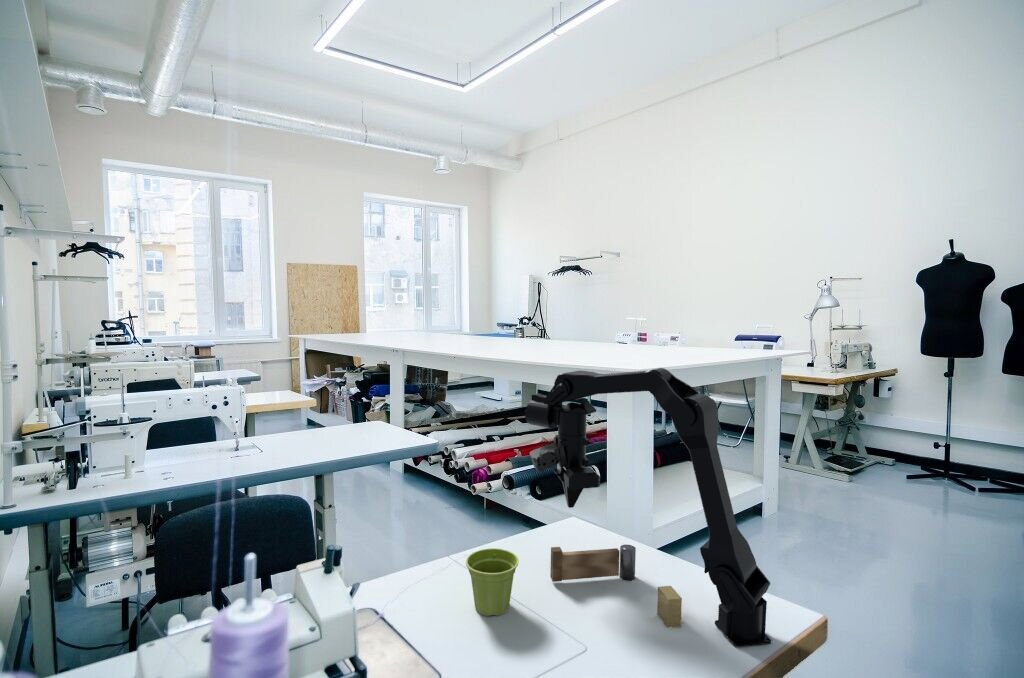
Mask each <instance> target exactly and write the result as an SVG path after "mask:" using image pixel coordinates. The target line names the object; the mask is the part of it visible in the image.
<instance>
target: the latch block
mask: <svg viewBox="0 0 1024 678" xmlns="http://www.w3.org/2000/svg"><path fill="white" fill-rule="evenodd" d="M682 601H683V599H682V597H681V596H680V594H679V593H677V591H676V590H675V589H674V587H673V586H672V585H664V586H663V585H662V586H661V585H660V586H657V603H656V607H657V608H656V615H657V616H658V617H659V619H660V620H661V622H662V623H663V625H664V626H665V627H666V628H667V629H672V628H680V627H681V626H682V625H681V624H682V603H683V602H682Z"/></svg>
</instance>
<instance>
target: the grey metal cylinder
mask: <svg viewBox="0 0 1024 678" xmlns="http://www.w3.org/2000/svg"><path fill="white" fill-rule="evenodd" d="M619 547H620V548H619V579H621V580H622V581H624V580H625V581H626V582H631V581H632V580H633V581H634V580H635V579H636V558H637V557H636V556H637V555H636V550H637V548H636V547H635V546H634V545H631V544H622V545H620V546H619ZM633 581H632V582H633Z"/></svg>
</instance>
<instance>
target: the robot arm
mask: <svg viewBox="0 0 1024 678" xmlns="http://www.w3.org/2000/svg"><path fill="white" fill-rule="evenodd" d="M636 392H637V393H639V392H649V393H650V394H651V395H652V396H653V397H654V398H655V400H656V402H657V403H658V405H659V407H660V408H661V409H662V410H663V411H664V412H665V413H666V414H667V415H669V417H670V419H671V421H672V424H673V425H674V429H675V431H676V433H677V435H678V437H679V439H680V440H681V442H682V443H683V444H684V445H685V446H686V448H687V450H688V452H689V454H690V459H691V463H692V468H693V471H694V476H695V480H696V483H697V488H698V491H699V496H700V502H701V505H702V509H703V513H704V518H705V522H706V525H707V531H708V534H709V535H708V540H707V541H705V543H704V544H702V546H701V547H700V548H699V550H700V555H701V557H702V560H703V564H704V574H708V577H709V579H710V581H711V582H712V585H714V586H715V588H716V591H717V594H718V598H719V600H720V603H719V604H718V613H717V614H718V618H717V619H716V620H714V625H715V626H716V628H717V629H719V630H720V632H721V633H722V634H723V635H724V636H725V637H726V638H727V639H728V641H729V642H731V644H732V645H733V646H734V647H736V648H743V647H752V646H761V645H762V646H763V645H769V644H772V639H771V638H770V637H769V636H768V634H766V625H767V624H766V621H767V608H768V607H767V606H768V605H767V604H768V601H767V600H766V599H764V597H763V596H764V595H765V594H766V593H767V591H768V589H769V587H770V586H771V581H770V580H769V579H768V578H767V577H766V575H765V574H764V572H762V570H761V568H759V566H758V565H757V561H756V558H755V556H754V553H753V551H752V548H751V546H750V545H749V542H748V540H747V539H746V537H744V534H742V532H741V531H740V530H739V528H738V525H737V522H736V518H735V517H736V516H735V513H734V509H733V506H732V500H731V497H730V493H729V490H728V485H727V480H726V477H725V472H724V469H723V466H722V465H723V463H722V460H721V457H720V452H719V449H718V436H719V428H720V427H719V426H720V424H719V410H718V406H717V402H716V401H715V399H714V398H711V397H710V396H709V395H706V394H704V393H700V392H699V391H698V390H697V389H695V388H694V387H693V386H692V385H689V384H688V383H687V382H684V381H683V380H681V379H679V378H678V377H676V375H674V374H672V372H670V370H668V369H667V368H663V367H658V368H653V369H648V370H647V369H646V370H638V371H636V370H635V371H626V372H615V373H613V372H612V373H599V372H594V371H588V370H572V371H569V372H562V373H559V374H558V375H557V376H556V378H555V379H554V383H553V385H552V388H551V389H550V391H549V392H548V393H547V394H546V395H544V394H542V393H538V392H537V393H533V394H531V399H530V401H529V402H528V403H527V406H526V408H525V410H524V417H525V421H526V423H528V424H529V425H531V426H534V427H535V426H536V427H540V428H546V429H549V430H553V429H555V428H557V434H555V436H554V437H553V442H552V443H550V444H546V445H543V446H541V447H538V448H535V449H533V450H531V451H530V452H529V455H530V458H531V459H530V460H531V463H532V465H533V467H534V469H535V470H536V472H537V473H541V472H542V473H543V472H544V471H546V470H547V469H549V468H551V467H554V466H556V465H557V466H556V468H553V472H554V474H556V475H557V477H558V478H559V480H560V481H561V483H562V487H563V488H562V489H563V491H564V496H565V500H566V505H567V507H568V508H569V509H570V508H572V509H573V508H574V507H575V505H576V504H577V501H578V499H579V497H580V496H581V494H582V492H583V490H584V489H592V488H593V489H594V488H599V487H601V476H600V475H599V474H598V473H597V472H596V471H595V470H594V469H593V468H592V467H591V466H589V459H588V458H587V457H586V454H587V451H586V450H587V448H586V446H589V445H590V440H589V439H588V438H587V415H590V414H595V413H596V412H597V408H596V407H594V405H592V404H591V403H590V401H589V400H585V401H582V402H580V403H578V402H573V401H575V400H576V401H577V400H580V399H584V398H588V397H592V396H595V395H599V394H600V395H601V394H602V395H603V394H604V395H605V394H618V393H619V394H620V393H621V394H622V393H636ZM566 402H567V404H563V403H566Z"/></svg>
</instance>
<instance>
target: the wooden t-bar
mask: <svg viewBox="0 0 1024 678" xmlns="http://www.w3.org/2000/svg"><path fill="white" fill-rule="evenodd" d="M549 571H550V574H549V575H550V579H551V582H552V583H553V582H554V583H555V582H562V581H569V580H570V581H571V580H582V579H584V580H585V579H593V578H604V577H618V576H619V573H620V549H619V548H617V547H616V548H602V549H588V550H575V551H574V550H573V551H563V550H562V548H561V546H552V547H550V570H549Z"/></svg>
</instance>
